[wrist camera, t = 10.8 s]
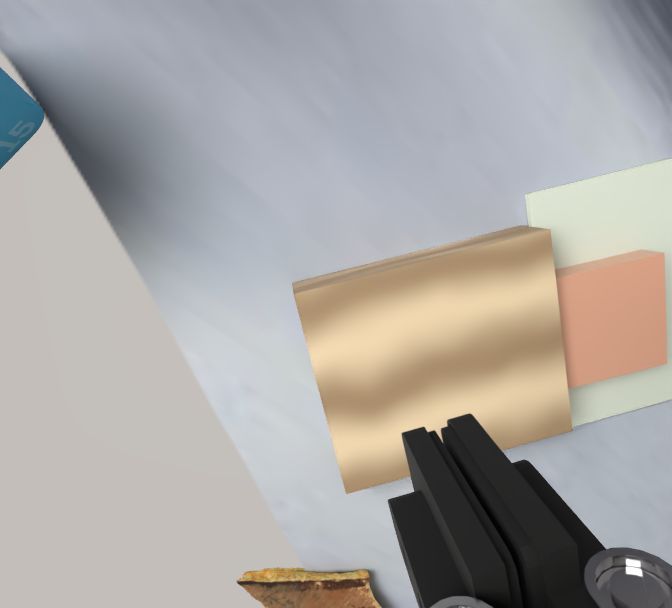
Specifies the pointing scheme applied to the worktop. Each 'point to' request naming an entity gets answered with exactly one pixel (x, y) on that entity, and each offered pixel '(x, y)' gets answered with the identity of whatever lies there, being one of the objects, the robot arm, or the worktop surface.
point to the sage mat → (605, 241)
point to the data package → (16, 117)
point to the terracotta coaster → (613, 316)
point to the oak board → (437, 348)
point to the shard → (309, 588)
